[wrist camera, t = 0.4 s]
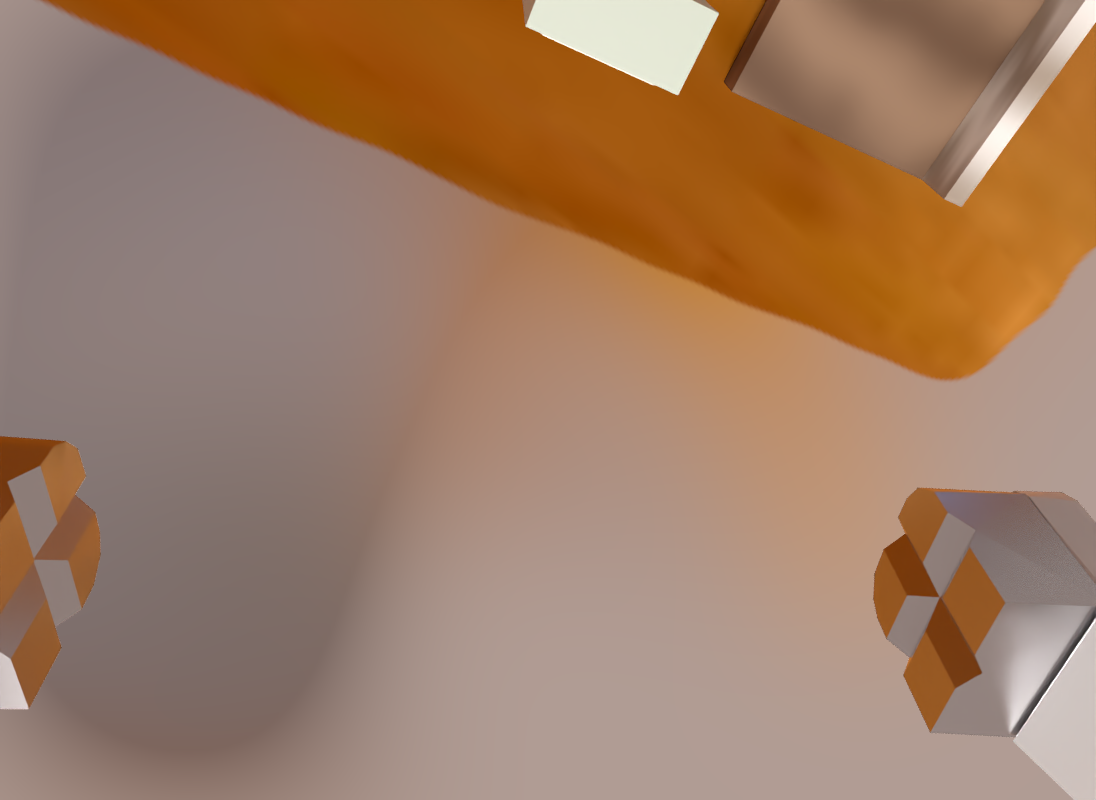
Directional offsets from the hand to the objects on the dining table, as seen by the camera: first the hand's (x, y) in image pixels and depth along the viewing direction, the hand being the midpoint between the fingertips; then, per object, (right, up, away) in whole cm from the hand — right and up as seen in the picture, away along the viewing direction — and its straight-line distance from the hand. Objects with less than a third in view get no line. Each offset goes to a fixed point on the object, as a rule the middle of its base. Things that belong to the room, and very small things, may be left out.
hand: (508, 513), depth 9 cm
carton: (+4, +23, +37) cm, 43 cm away
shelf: (+20, +23, +38) cm, 48 cm away
